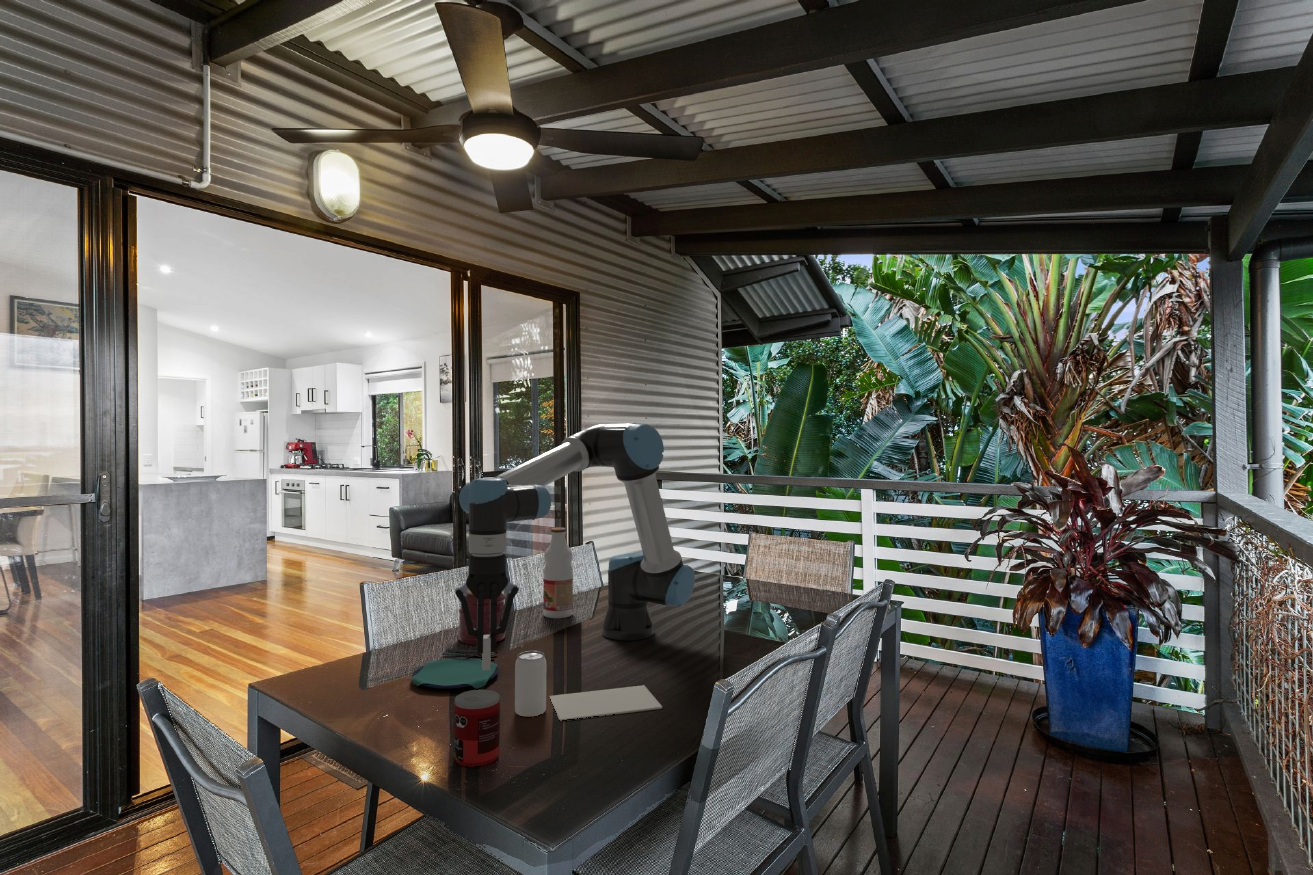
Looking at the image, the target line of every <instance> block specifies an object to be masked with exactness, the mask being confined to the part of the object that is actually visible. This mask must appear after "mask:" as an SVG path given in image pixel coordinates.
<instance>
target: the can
mask: <svg viewBox="0 0 1313 875" xmlns="http://www.w3.org/2000/svg"><path fill="white" fill-rule="evenodd" d="M514 664H515V666H514V669H515V670H514V712H515V714H516V715H517V714H518V715H520V716H529V717H530V716H537V717H539V716H538V715H540V714H542V715H543V714H545V712H546V711H547V660H546V658H545V653H544V652H543V651H539V650H528V651H522V652H520V653H518V654H517V659H516V660H515V663H514ZM518 715H517V716H518ZM520 716H519V717H520ZM540 716H541V715H540Z"/></svg>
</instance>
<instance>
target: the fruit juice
mask: <svg viewBox="0 0 1313 875" xmlns="http://www.w3.org/2000/svg"><path fill="white" fill-rule="evenodd" d="M550 534H551V539H550V543H549V545H548V547H547V548H546V549H545V551H544V554H543V560H544V563H545V565H544V568H543V575H542V576H543V578H542V579H543V582H542V583H543V594H542V595H543V596H542V597H543V600H542V601H543V602H542V603H543V604H542V606H543V607H542V608H543V609H542V610H543V612H542V613H543V616H544V617H545V618H549V619H563V618H564V619H565V618H568V617H571V616H572V615H573V612H574V610H573V609H574V608H573V606H574V605H573V604H574V602H573V601H574V599H573V598H574V595H573V594H574V593H573V591H574V590H573V588H574V571H573V567H572V562H573V551H572V549H571V548H570V546H569V545H568V542H567V540H566V539H567V538H566V534H567V528H565V527H560V526H559V527H551V529H550Z"/></svg>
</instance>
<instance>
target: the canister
mask: <svg viewBox="0 0 1313 875" xmlns="http://www.w3.org/2000/svg"><path fill="white" fill-rule="evenodd" d="M467 593H468V594H467V596H466V599H467V603H468V607H469V612H470V616H471V620H472V624H473V628H475V629H477V598H475V596H474V595H473V594H472V593H471V591H470V590H469V589H467ZM506 596H507V594H504V593H503V592H502V593H501V594H500V595H499V597H497V627H498V626H499V623H500V619H501V615H502V611H503V607H504V604H505V600H506ZM458 600H459V599H458ZM459 602H460V603H461V601H460V600H459ZM458 613H459V619H458V620H459V623H458V624H459V626H458V627H459V630H458V638H459V641H460V642H461V643H462V644H465V643H466V645H474V646H475V645H476V646H477V638H476V637H475V636H470V635H469V634H468V630H467V626H466V622H465V618H464V614H463V609H462V605H461V604H460V608H459V609H458ZM506 633H507V632H506V631H505V633H501V634H499V635H498V636H497V637H496V643H499V642H500V641H503V640H504V639H505V636H506ZM484 635H490V599H485V600H484ZM498 641H499V642H498Z"/></svg>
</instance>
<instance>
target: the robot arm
mask: <svg viewBox="0 0 1313 875" xmlns="http://www.w3.org/2000/svg"><path fill="white" fill-rule="evenodd" d="M664 449H665V448H664V441H663V439H662V436H661V434H660V433H659V432H658V430H657V429H656V428H655V427H653V426H651V425H650V424H647V423H639V422H632V423H600V424H596V425H593V426H590V427H587V428H585V429H583V430H581V431H578V432H576V433H574V434H571V435H570V436H567V437H565V438H564V439H563V440H562V442H561V444H560V445H558V446H555V447H554V448H552V449H550V450H547V451H545V452H543V453H541V454H539V455H537V456H535V457H533V458H531V459H528V460H526V461H525V462H523V463H521V464H519V465H517V466H515V467H512V468H510V469H507V471H504V472H502V473H501V474H498V475H495V476H494V477H487V478H486V477H482V478H474V479H473V480H471V481H470V482H468V483H466V484H465V485H464V486H463V487H462V488H461V489H460V493H459V494H458V495H459V496H458V501H459V505H460V508H461V509H462V510H463V512H465V513H466V514H468V552H469V553H470V555H468V566H467V568H468V574H467V578H466V579H465V584H463V585H461V586H460V587H455V589H454V593H455V596H456V597H457V598H458V600H460V601H461V602H460V601H459V602H460V606H461V605H462V609H463V614H464V618H465V622H466V626H467V630H468V634H469V635H470V636H475V637H476V638H477V645H476V650H477V652H476V653H477V654H481V653H482V655H481V657H482V658H481V659H482V669H483V671H486V670H490V666H491V662H492V661H491V659H492V658H491V657H492V655H491V652H495V651H497V642H496V637H497V636H498V635H499V634H501V633H505V631H506V630H507V626H508V623H509V619H510V614H511V610H512V606H513V602H514V599H515V598H516V596H517V594H518V593H519V587H518V585H517V584H513V583H512V582H510V581H509V578H508V576H507V555H506V553H505V552H506V551H507V526H508V523H511V522H523V521H535V520H537V519H541V518H544V517H546V516H547V515H548V514H549V512H550V510H551V508H552V496H551V494H550V491H549V490H548V489H547V488H546V486H548V485H550V484H552V483H553V482H556V481H558V480H559V479H561V478H563V477H565V476H567V475H569V474H570V473H572V472H582V471H585V470H587V469H589V468H596V467H597V468H598V467H600V468H601V467H603V468H604V467H606V468H607V467H608V468H613V469H614V472H615V477H616V479H617V481H619V482H621V483H624V487H625V491H626V494H627V499H628V501H629V502H628V503H629V506H630V510H631V513H632V517H633V522H634V524H635V528H636V532H637V536H638V539H639V543H640V547H641V550H642V552H635V553H627V554H626V553H625V554H620V555H615V556H612V557H611V558H609V560H608V570H607V592H608V593H607V596H608V597H607V600H608V601H607V604H608V605H607V609H606V612H605V615H604V616H605V617H604V619H603V623H602V626H601V635H602V636H603V637H605V638H608V639H610V640H616V641H617V640H618V641H638V640H644V639H647V638H650V637H652V636H653V635H654V627H655V626H654V622H653V620H652V616H651V613H650V610H649V603H653V604H657V605H663V606H667V607H676V608H677V607H682V606H684V605H685V604H687V602H688V601H690V598H691V597H692V593H693V590H694V588H695V581H696V575H695V574H696V573H695V572H694V571H695V570H694V569H693V567H692V566H690V565H689V564H685V563H684V562H683V557H682V554H681V553H680V551H677V550H675V549H674V548H675V547H674V544H673V541H672V535H671V532H670V528H669V524H668V521H667V517H666V512H665V508H664V504H663V500H662V496H661V492H660V489H659V488H660V487H659V483H658V481H657V477H656V474H657V473H658V472H659V470H660V464H662V461H663V458H664V454H663V453H664V451H665V450H664ZM467 589H469V590H470V591H471V593H472V594H473V595H474V596H475V598H477V629H475V628H473V624H472V620H471V616H470V612H469V607H468V603H467V599H466V596H467V594H468V593H467ZM505 589H506V590H505ZM504 590H505V592H506V593H507V594H506V598H505V599H504V607H503V611H502V615H501V619H500V623H499V626H498V627H497V597H499V595H500V594H501V593H503V591H504ZM485 599H490V635H484V600H485ZM505 634H506V633H505Z"/></svg>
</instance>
